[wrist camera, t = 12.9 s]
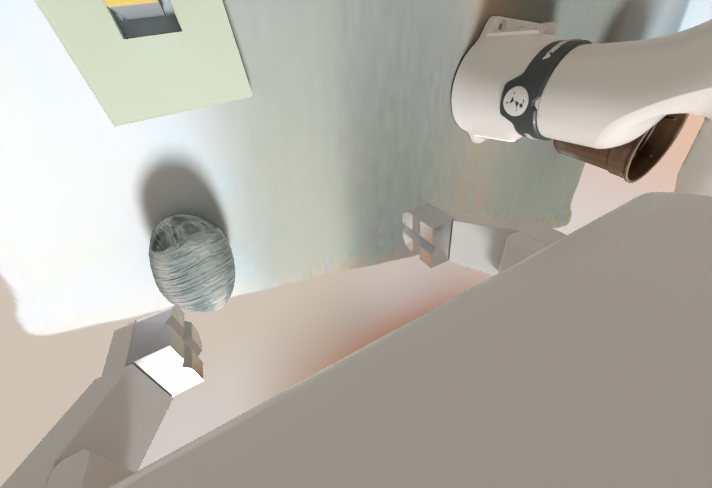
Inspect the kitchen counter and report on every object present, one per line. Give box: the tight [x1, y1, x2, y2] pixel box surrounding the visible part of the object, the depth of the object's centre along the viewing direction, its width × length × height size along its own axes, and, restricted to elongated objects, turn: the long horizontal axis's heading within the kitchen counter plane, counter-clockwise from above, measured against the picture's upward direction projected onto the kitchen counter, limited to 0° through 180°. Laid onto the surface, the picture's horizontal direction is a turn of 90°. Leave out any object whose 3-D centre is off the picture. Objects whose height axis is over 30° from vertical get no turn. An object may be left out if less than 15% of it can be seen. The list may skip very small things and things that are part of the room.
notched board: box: [35, 0, 253, 127], centre depth 27 cm, size 14×12×2 cm
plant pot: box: [555, 113, 689, 183], centre depth 59 cm, size 16×16×16 cm
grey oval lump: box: [149, 214, 235, 312], centre depth 36 cm, size 14×10×10 cm
